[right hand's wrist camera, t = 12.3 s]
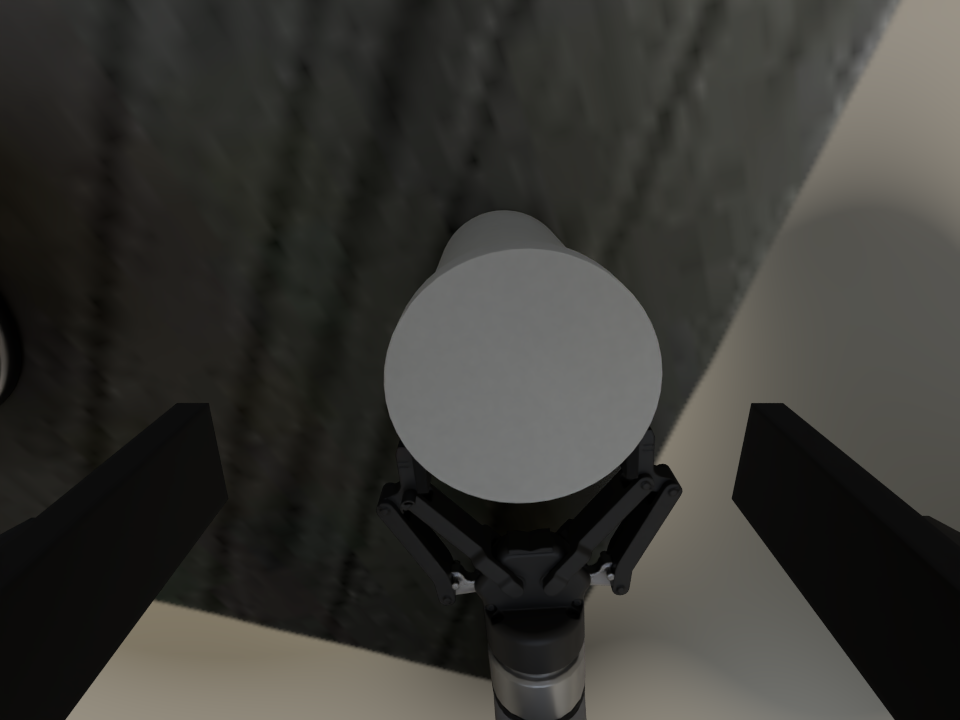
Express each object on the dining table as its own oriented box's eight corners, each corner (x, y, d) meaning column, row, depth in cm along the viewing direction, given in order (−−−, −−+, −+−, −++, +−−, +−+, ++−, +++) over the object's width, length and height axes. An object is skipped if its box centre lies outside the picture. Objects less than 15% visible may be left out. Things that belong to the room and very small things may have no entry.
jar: (521, 357, 39) (553, 518, 22) (416, 296, 37) (360, 418, 20) (591, 254, 36) (692, 345, 19) (481, 183, 35) (481, 213, 17)
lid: (553, 515, 23) (558, 541, 22) (347, 408, 21) (336, 429, 20) (702, 329, 20) (721, 344, 19) (475, 185, 18) (475, 187, 17)
